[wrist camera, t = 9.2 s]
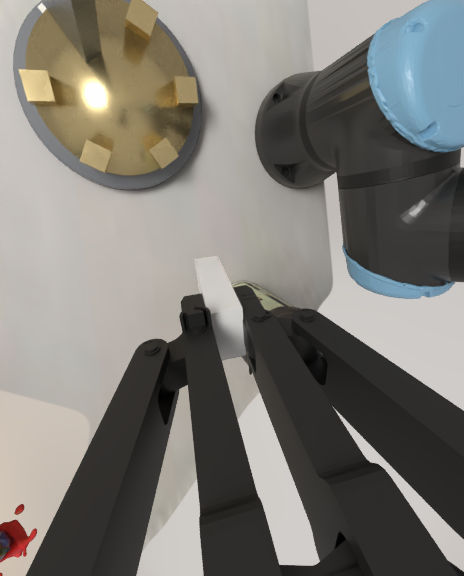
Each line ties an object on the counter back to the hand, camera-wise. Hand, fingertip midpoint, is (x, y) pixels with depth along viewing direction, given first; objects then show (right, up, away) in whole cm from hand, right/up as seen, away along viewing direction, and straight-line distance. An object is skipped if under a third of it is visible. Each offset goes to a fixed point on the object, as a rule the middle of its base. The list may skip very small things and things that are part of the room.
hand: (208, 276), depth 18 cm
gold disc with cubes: (-12, +21, +14) cm, 28 cm away
